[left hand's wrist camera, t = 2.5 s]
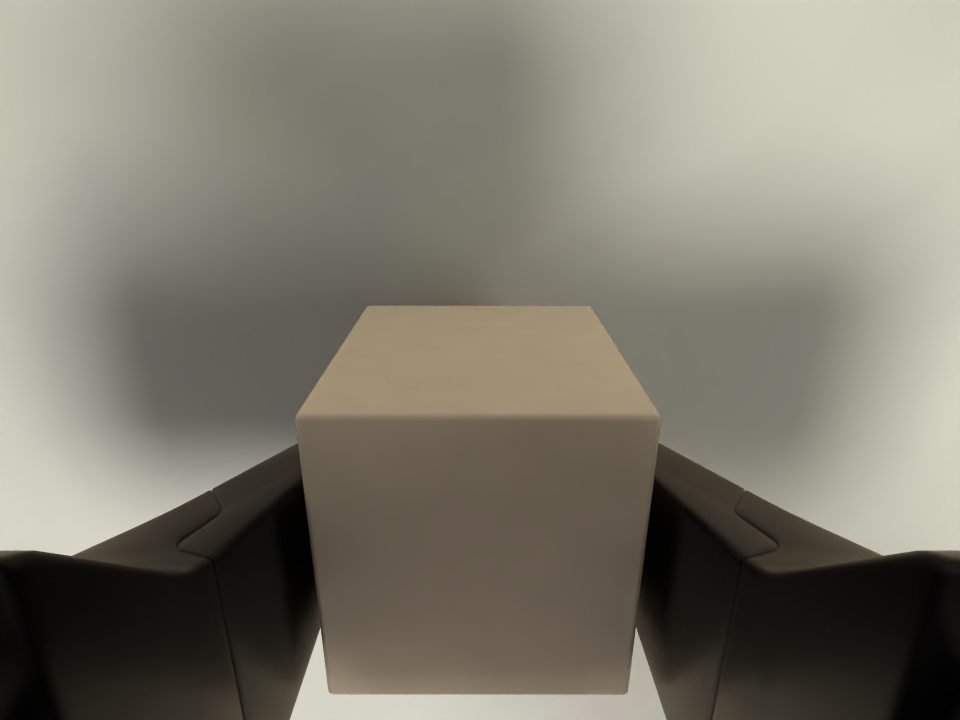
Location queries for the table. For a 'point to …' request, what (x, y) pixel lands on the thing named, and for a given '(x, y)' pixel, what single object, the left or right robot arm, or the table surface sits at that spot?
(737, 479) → the table surface
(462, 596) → the block
